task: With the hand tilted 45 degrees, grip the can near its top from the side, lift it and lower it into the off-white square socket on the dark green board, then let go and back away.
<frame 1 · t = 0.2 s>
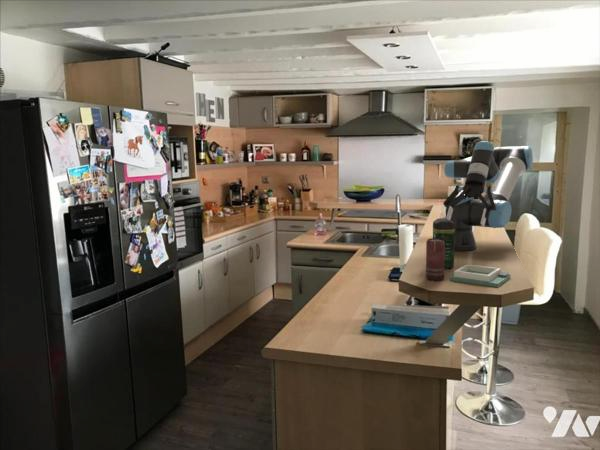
hand: (464, 223, 190), 16 cm above the countertop, tool tilted 35°, fingers open, 13 cm apart
coffee jar: (442, 266, 189), on the countertop
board: (480, 279, 170), on the countertop
can: (435, 279, 172), on the countertop
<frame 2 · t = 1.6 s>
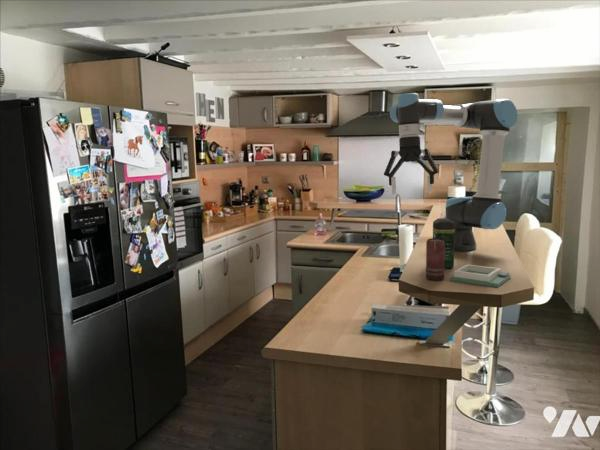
hand: (411, 193, 184), 28 cm above the countertop, tool pointing down, fingers open, 13 cm apart
nothing on the countertop moved.
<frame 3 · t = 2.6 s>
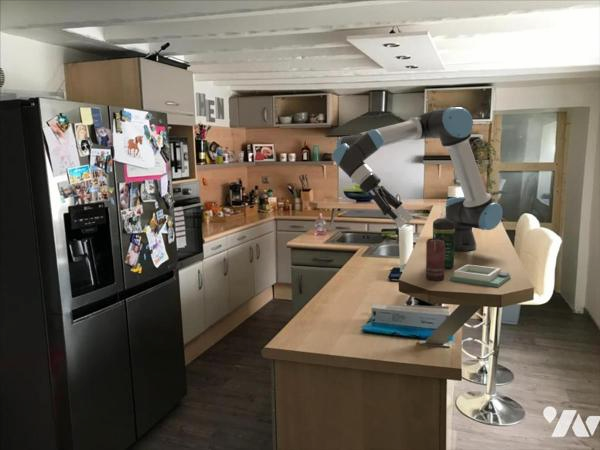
hand: (407, 222, 173), 19 cm above the countertop, tool tilted 45°, fingers open, 13 cm apart
nothing on the countertop moved.
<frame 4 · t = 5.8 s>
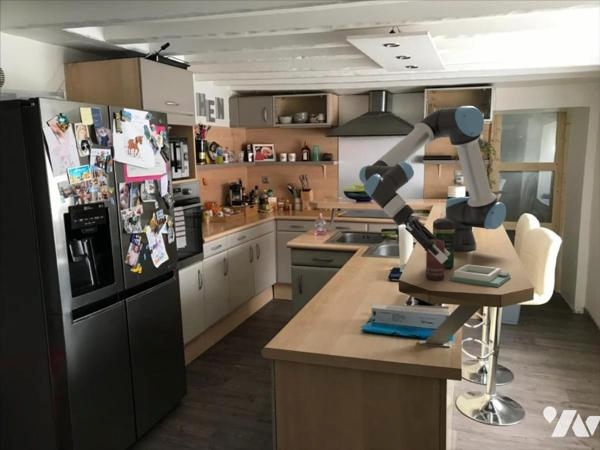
hand: (446, 258, 169), 7 cm above the countertop, tool tilted 45°, fingers closed on can, 6 cm apart
can: (435, 279, 172), on the countertop, touching gripper
everything else where it was.
when the fingers open (10 cm above the countertop, at t = 11.2 s): can drops 1 cm, resting on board.
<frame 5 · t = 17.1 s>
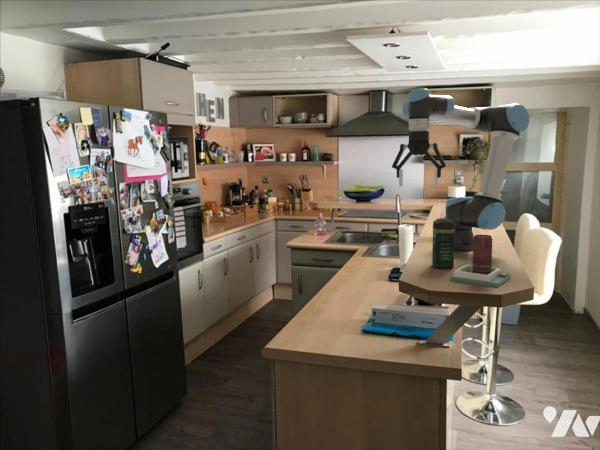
hand: (418, 186, 190), 31 cm above the countertop, tool pointing down, fingers open, 13 cm apart
can: (481, 276, 170), point 1 cm above the countertop, touching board
everything else where it was.
at the end: can inside the target area on the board (1.4 cm from its centre), point 1.0 cm above the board's base; can tilted 0°; the gripper is holding nothing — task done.
